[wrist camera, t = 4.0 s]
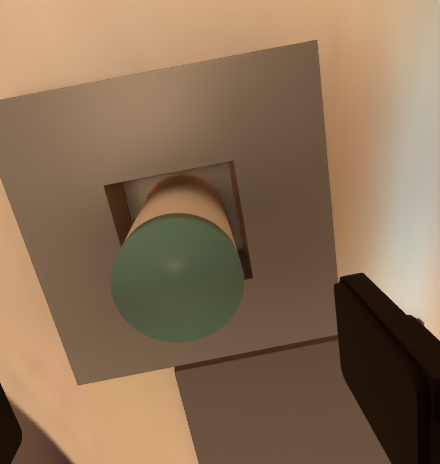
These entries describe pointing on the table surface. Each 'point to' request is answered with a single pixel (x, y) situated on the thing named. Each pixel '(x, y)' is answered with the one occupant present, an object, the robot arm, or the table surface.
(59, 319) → the housing
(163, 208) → the filter cartridge
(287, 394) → the mat
